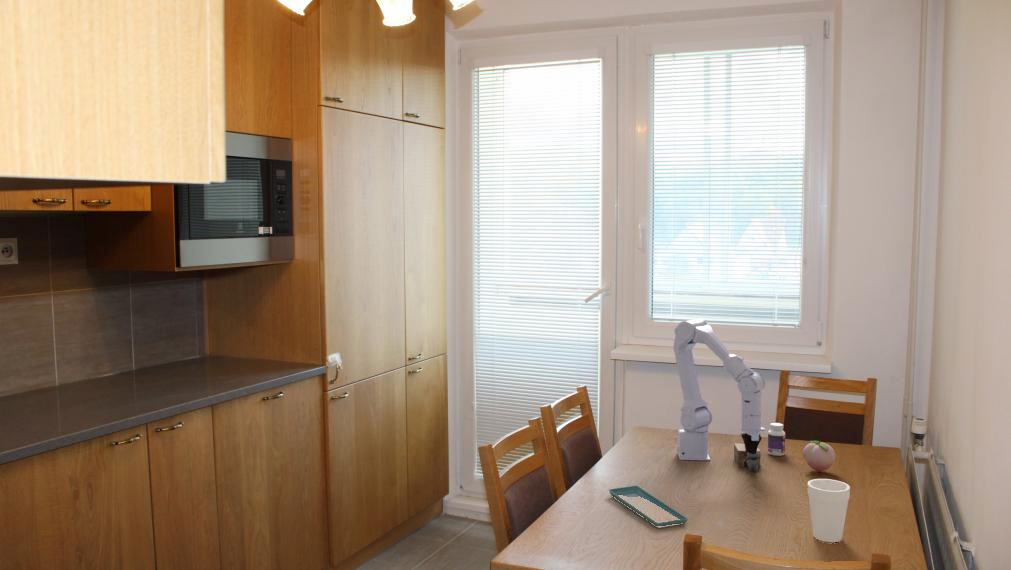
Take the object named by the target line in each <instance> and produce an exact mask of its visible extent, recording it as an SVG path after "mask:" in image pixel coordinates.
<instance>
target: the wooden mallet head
mask: <svg viewBox="0 0 1011 570" xmlns="http://www.w3.org/2000/svg"><path fill="white" fill-rule="evenodd" d="M733 445H734V446H733V447H734V449H733V451H734V452H733V459H734V462H735V461H736V462H735V463H737V464H736V466H737V465H738V466H737V467H740V468H741V467H742V466H743V467H742V468H744V467H745V460H744V454H746V450H745V445H744V443H733ZM757 452H759V453H761V450H760V448H759V447H758V448H757ZM758 468H761V458H758Z"/></svg>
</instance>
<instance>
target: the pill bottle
mask: <svg viewBox="0 0 1011 570" xmlns="http://www.w3.org/2000/svg"><path fill="white" fill-rule="evenodd" d="M769 425H770V426H769V430H768V431H767V454H768V455H771V456H776V457H777V456H778V457H781V456H785V454H786V432H785V431H784V430H783V429H784V423H783V424H782V423H781V422H772V423H770V424H769Z"/></svg>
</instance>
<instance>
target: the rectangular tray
mask: <svg viewBox="0 0 1011 570" xmlns="http://www.w3.org/2000/svg"><path fill="white" fill-rule="evenodd" d="M608 491H609V493H610V495H611V497H612V496H613V497H615V498H616V499H617V500H619V501H620V502H622V503H623V504H625V505H626V506H628V507H629V508H631V509H632V510H634V511H635V512H637V513H638V514H640V515H641V516H643V517H644V518H645V519H647V520H648V521H650V522H651V523H653V524H654V525H655V526H666V525H672V524H681V523H685V524H686V523H687V521H688V520H689V519H688V517H686V516H685V515H683V514H681V513H680V512H678V511H677V510H675V509H674V508H672V507H671V506H669V505H668V504H666V503H665V502H663V501H661V500H660V499H658V498H656V496H653V495H652V494H651V493H649V492H647V490H645V489H643V488H642V487H640V486H638V485H630V486H623V487H616V488H609V489H608ZM618 495H623V496H627V497H638V496H640V497H641V498H642V497H643V498H644V499H647V500H649V501H650V502H652V503H654V504H656V505H657V506H659V507H661V508H662V509H664V510H665V511H667V512H669V513H670V514H672V515H673V516H675V517H677V518H678V519H680V520H674V521H668V522H662V523H657V522H655V521H654V520H652V519H651V518H649V517H648V516H647V515H645V514H644V513H642V512H641V511H639V510H638V509H636V508H635V507H634V506H632V505H631V504H629V503H628V502H626V501H625V500H623V499H622V498H620V497H619V496H618ZM613 497H612V498H613ZM616 499H615V500H616ZM617 500H616V501H617ZM619 501H618V502H619ZM620 502H619V503H620ZM623 504H622V505H623ZM626 506H625V507H626ZM629 508H628V509H629ZM655 526H654V527H655Z"/></svg>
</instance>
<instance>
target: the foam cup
mask: <svg viewBox="0 0 1011 570" xmlns="http://www.w3.org/2000/svg"><path fill="white" fill-rule="evenodd" d="M850 491H851V486H850V485H849V484H848V483H846V482H843V481H840V480H838V479H829V478H814V479H810V480H808V481H807V492H806V493H807V495H808V501H809V502H808V504H809V512H810V520H811V527H812V536H814V537H815V538H816V539H819V540H822V541H828V542H838V541H840V540H841V541H842V539H843V534H844V528H845V522H846V516H847V511H848V504H849V500H850V497H851V496H850V495H851V492H850ZM816 539H815V540H816Z"/></svg>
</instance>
